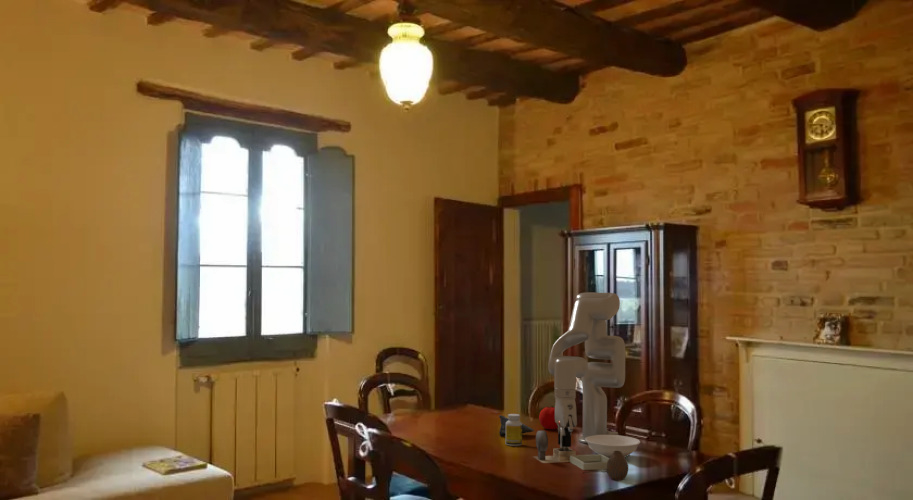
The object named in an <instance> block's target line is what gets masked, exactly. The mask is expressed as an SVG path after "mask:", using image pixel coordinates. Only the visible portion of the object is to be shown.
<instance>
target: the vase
mask: <svg viewBox="0 0 913 500" xmlns="http://www.w3.org/2000/svg"><path fill="white" fill-rule="evenodd" d="M608 458H609V460H608V462H607V469H606V471H607V472H606V473H607V475H608V476H609V477H610V479H611V480H614V479H615V481H622V480H624V479H626V478H627V476H628V473H629V463H628V460H627V459H626V457H624V456H623V455H622V452H621V451H614V452H613V454H612V456H611V457H608Z"/></svg>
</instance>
